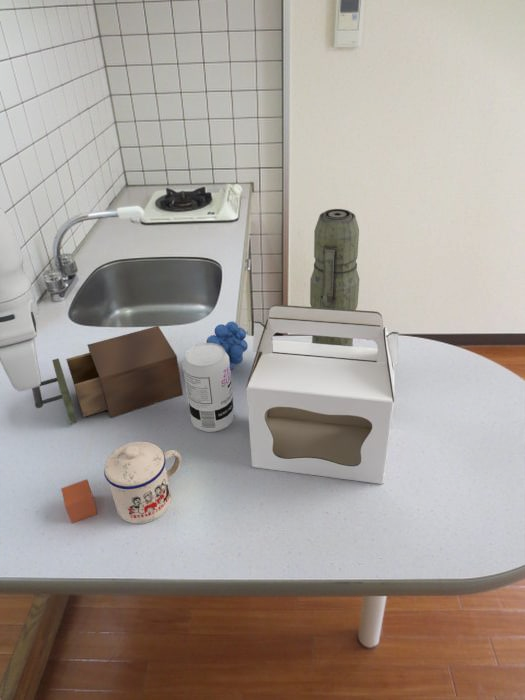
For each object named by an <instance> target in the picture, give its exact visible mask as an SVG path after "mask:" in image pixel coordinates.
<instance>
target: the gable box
mask: <svg viewBox="0 0 525 700" xmlns="http://www.w3.org/2000/svg"><path fill="white" fill-rule="evenodd" d="M383 320H384V319H383V316H382V314H381V313H380V312H379V311H375V310H361V309H360V310H359V309H356V310H346V309H332V308H317V307H311V306H303V305H302V306H300V305H288V304H287V305H286V304H274V305H272V306H271V307H270V309H269V311H268V317H267V319H266V321H265V324H263V322H261V321H257V320H255V321H254V322H253V338H252V339H253V340H252V343H253V344H252V352H255V356H254V359H253V362H252V366H251V369H250V373H249V376H248V379H247V381H246V382H247V383H246V386H245V390H246V405H247V415H248V416H247V417H248V418H247V419H248V428H249V429H248V430H249V443H250V457H251V466H252V467H253V468H256V469H257V468H258V469H264V470H271V471H280V472H287V473H294V474H295V473H296V474H301V475H311V476H316V477H317V476H319V477H325V478H333V479H341V480H349V481H356V482H362V483H372V484H379V485H383V484H384V483H385V478H386V477H385V475H386V470H387V469H386V468H387V461H388V453H389V447H390V446H389V445H390V438H391V430H392V422H393V414H394V407H395V371H396V368H395V367H396V366H395V365H398V364H399V332H398V331H391V332H389V330H388V328H387V326H385V327H384V321H383ZM276 333H278V334H292V335H306V336H312V335H317V336H330V337H342V338H353V339H355V340H357V339H358V340H366V341H373V342H375V344H376V346H377V348H375V347H364V346H353V345H352V346H340V345H328V344H316V343H312V342H302V341H291V340H290V341H289V340H279V339H273V337H274V335H275V334H276Z"/></svg>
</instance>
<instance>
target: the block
mask: <svg viewBox="0 0 525 700" xmlns="http://www.w3.org/2000/svg"><path fill="white" fill-rule="evenodd" d="M61 493H62V498H63V503H64V508H65V510H66V512H67V516H68V518H69V520H70V523H71V524H74V523H77V522H79V521H83V520H84V519H87V518H90V517H92V516H95V515H98V510H97V506H96V502H95V498H94V495H93V492H92V489H91V486H90V483H89V479H84V480H81V481H78V482H74V483H72V484H69V485H66V486H63V487H61Z"/></svg>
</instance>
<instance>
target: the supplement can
mask: <svg viewBox="0 0 525 700" xmlns="http://www.w3.org/2000/svg"><path fill="white" fill-rule="evenodd" d="M182 371H183V377H184V385H185V390H186V396H187V404H188V409H189V410H188V411H189V416H190V422H191V424H192V425H193V427H194V428H196V429H198V430H199V431H200V430H201V431H203V432H207V433H208V432H209V433H214V432H219V431H222V430H224V429H226V428H227V427H229V426H230V425H231V424H232V423H233V421H234V419H235V417H236V416H235V407H234V394H233V385H232V384H233V383H232V375H231V374H232V373H231V371H230V361H229V356H228V355H227V353H226V352H225V350H224V349H223V347H222V346H220V345H218V344H214V343H206V342H201V343H198V344H195V345H193V346H191V347H189V348H188V349H187V350H186V352H185V353H184V357H183V360H182Z"/></svg>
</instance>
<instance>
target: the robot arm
mask: <svg viewBox="0 0 525 700" xmlns="http://www.w3.org/2000/svg"><path fill="white" fill-rule="evenodd" d="M21 249H22V248H21V246H20V243H19V240H18V237H17V235H16V233H15V229H14V227H13V224H12V223H11V220H10V219H9V217H8V216H7V214H6V213H5V211H4V210H3V209H2V208H1V207H0V364H1V366H2V368H3V370H4V372H5V374H6V376H7V378H8V380H9V383H10V384H11V386H12V387H13V389H15V391H17V392H23V391H27V390H32V388H35V387H38V386H40V384H41V382H42V377H41V370H40V365H39V359H38V354H37V347H36V342H35V340H36V339H35V338H37V336H38V335H37V320H38V316H39V313H40V308H39V304H38V302H37V299H36V295H35V293H34V289H33V286H32V282H31V280H30V278H29V277H28V275H27V274H26V272H25V269H24V256H23V252H22V250H21ZM40 387H41V386H40Z"/></svg>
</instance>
